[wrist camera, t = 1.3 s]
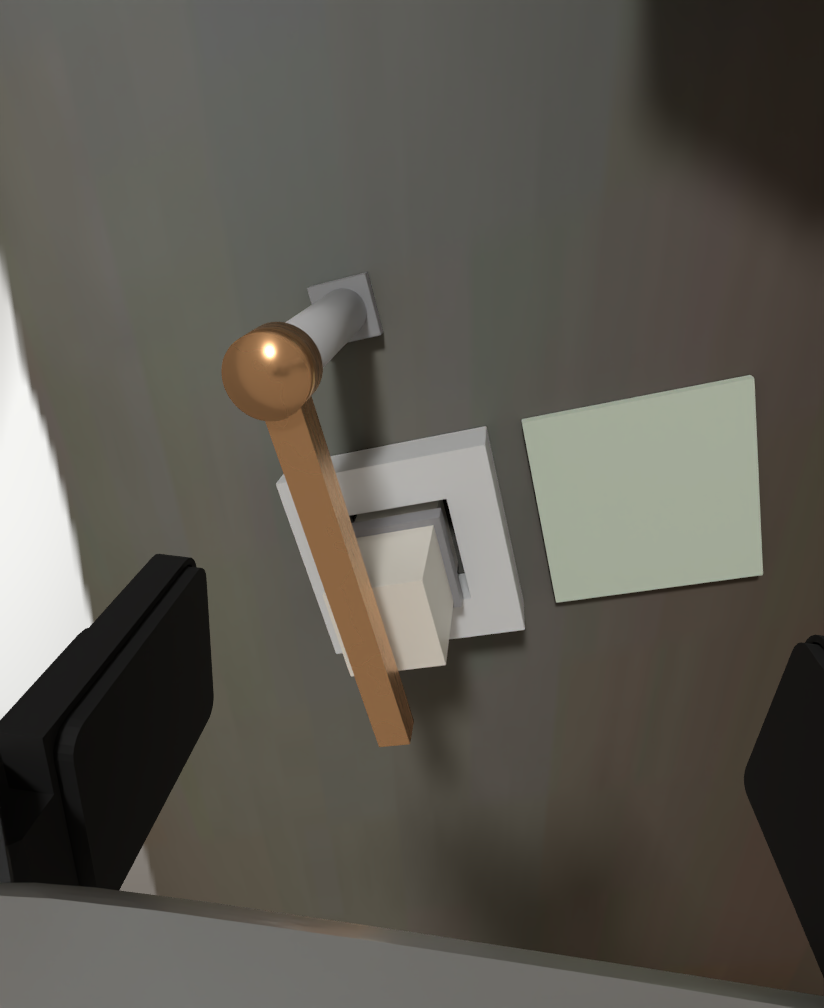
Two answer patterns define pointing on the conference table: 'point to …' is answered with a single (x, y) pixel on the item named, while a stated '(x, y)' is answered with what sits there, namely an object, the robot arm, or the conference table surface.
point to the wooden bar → (319, 506)
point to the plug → (410, 580)
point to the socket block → (417, 479)
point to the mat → (649, 490)
